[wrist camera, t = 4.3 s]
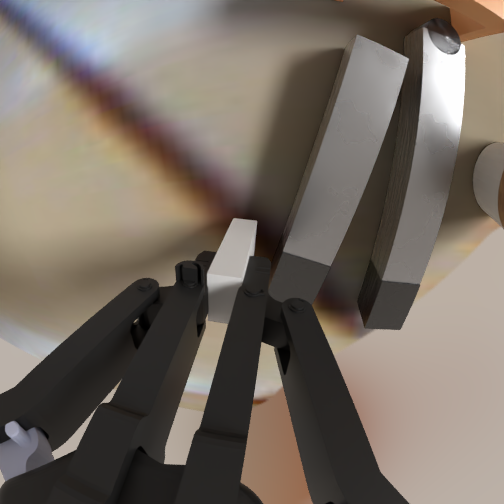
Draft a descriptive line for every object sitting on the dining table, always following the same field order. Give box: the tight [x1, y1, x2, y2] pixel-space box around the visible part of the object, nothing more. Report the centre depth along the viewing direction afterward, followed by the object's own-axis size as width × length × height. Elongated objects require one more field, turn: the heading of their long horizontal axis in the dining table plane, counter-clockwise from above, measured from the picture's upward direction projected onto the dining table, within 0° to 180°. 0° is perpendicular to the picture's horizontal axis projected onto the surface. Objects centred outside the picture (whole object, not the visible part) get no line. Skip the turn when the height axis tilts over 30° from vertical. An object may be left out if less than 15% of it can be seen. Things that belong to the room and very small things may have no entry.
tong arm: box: [268, 34, 409, 306], centre depth 15 cm, size 17×3×3 cm, turn 164°
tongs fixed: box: [357, 18, 465, 330], centre depth 15 cm, size 21×3×3 cm, turn 176°
